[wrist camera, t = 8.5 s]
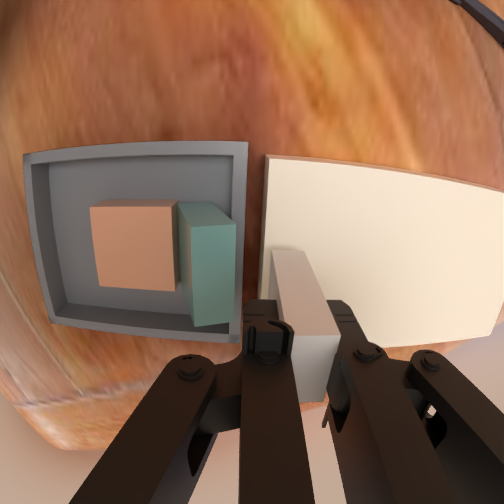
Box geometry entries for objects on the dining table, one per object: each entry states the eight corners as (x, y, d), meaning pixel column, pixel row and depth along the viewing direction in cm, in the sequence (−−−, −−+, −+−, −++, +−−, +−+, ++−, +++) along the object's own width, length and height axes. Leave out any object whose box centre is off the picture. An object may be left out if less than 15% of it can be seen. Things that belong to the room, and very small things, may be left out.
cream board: (255, 314, 21) (257, 350, 18) (265, 154, 18) (269, 158, 14) (465, 310, 22) (489, 335, 18) (495, 187, 18) (529, 200, 14)
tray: (65, 306, 21) (50, 322, 19) (44, 150, 17) (22, 154, 15) (241, 321, 21) (240, 343, 19) (248, 141, 17) (248, 141, 15)
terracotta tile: (175, 291, 18) (181, 276, 20) (171, 206, 16) (179, 199, 18) (99, 285, 18) (111, 272, 20) (89, 207, 16) (103, 199, 18)
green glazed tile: (210, 279, 20) (179, 282, 19) (210, 201, 18) (176, 203, 17) (234, 321, 15) (194, 327, 15) (236, 224, 14) (190, 227, 13)
